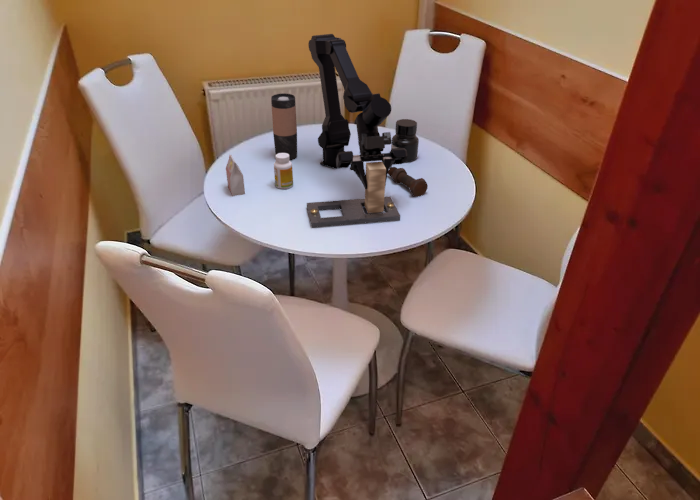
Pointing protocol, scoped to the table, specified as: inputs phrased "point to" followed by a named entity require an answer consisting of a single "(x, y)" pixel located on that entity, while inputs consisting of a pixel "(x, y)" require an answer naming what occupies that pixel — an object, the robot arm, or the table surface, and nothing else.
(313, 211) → the strike plate
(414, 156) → the ink bottle
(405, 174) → the bolt
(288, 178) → the supplement bottle
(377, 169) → the birch peg
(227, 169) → the tea bag
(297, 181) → the table surface
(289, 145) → the travel mug
